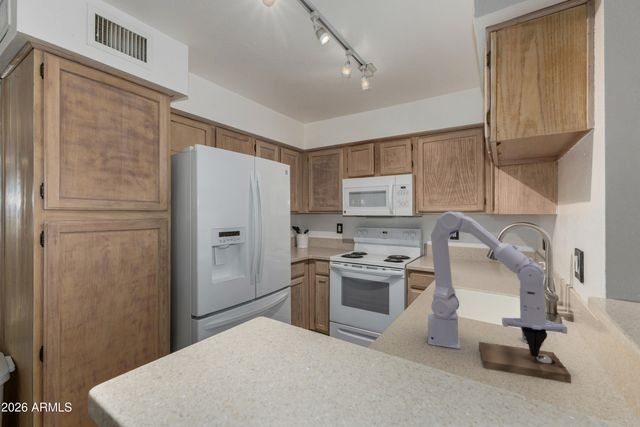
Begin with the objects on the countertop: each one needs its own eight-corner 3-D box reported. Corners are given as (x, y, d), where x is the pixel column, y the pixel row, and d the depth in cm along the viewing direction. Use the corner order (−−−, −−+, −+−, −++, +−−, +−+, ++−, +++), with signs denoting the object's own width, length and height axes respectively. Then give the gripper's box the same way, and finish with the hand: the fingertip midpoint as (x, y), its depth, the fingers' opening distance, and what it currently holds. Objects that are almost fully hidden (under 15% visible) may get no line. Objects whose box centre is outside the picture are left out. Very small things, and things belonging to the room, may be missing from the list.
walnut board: (483, 367, 78) (483, 360, 78) (479, 348, 90) (478, 341, 90) (572, 383, 70) (571, 375, 70) (554, 359, 82) (553, 352, 82)
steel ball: (542, 355, 77) (556, 363, 75) (538, 349, 80) (552, 357, 79) (535, 365, 77) (549, 373, 76) (532, 359, 81) (546, 367, 79)
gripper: (504, 307, 79) (506, 356, 78) (571, 313, 73) (573, 367, 72) (500, 300, 85) (501, 346, 85) (560, 305, 79) (562, 354, 79)
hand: (534, 355), depth 79 cm, fingers closed
